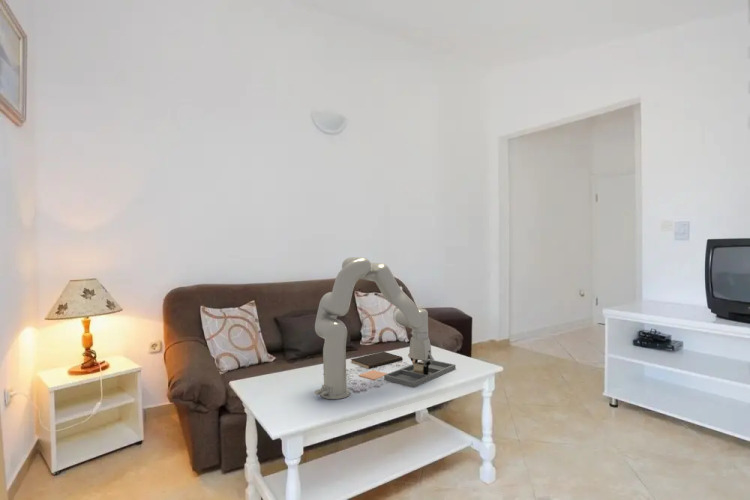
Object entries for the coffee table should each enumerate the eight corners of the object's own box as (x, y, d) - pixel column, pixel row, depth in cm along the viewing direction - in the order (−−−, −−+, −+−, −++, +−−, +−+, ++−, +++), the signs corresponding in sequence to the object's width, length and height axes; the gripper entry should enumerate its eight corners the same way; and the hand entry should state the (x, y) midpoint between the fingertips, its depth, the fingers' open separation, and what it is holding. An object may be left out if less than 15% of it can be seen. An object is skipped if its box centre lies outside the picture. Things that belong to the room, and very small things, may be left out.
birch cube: (422, 376, 193) (422, 365, 193) (413, 374, 197) (413, 363, 196) (428, 373, 197) (428, 363, 197) (419, 371, 200) (419, 361, 200)
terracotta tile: (374, 380, 190) (374, 379, 190) (358, 376, 197) (358, 375, 197) (388, 375, 197) (388, 373, 197) (373, 371, 204) (372, 370, 204)
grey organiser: (413, 388, 178) (413, 382, 178) (384, 380, 190) (384, 375, 190) (455, 369, 203) (455, 364, 203) (427, 363, 215) (427, 358, 215)
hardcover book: (350, 363, 221) (350, 359, 220) (383, 355, 235) (383, 351, 235) (369, 370, 208) (368, 365, 208) (402, 361, 222) (402, 357, 222)
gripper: (401, 334, 199) (402, 371, 200) (430, 339, 188) (431, 378, 188) (410, 331, 205) (411, 368, 205) (439, 336, 193) (440, 374, 194)
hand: (421, 372), depth 197 cm, fingers closed on birch cube, 4 cm apart
